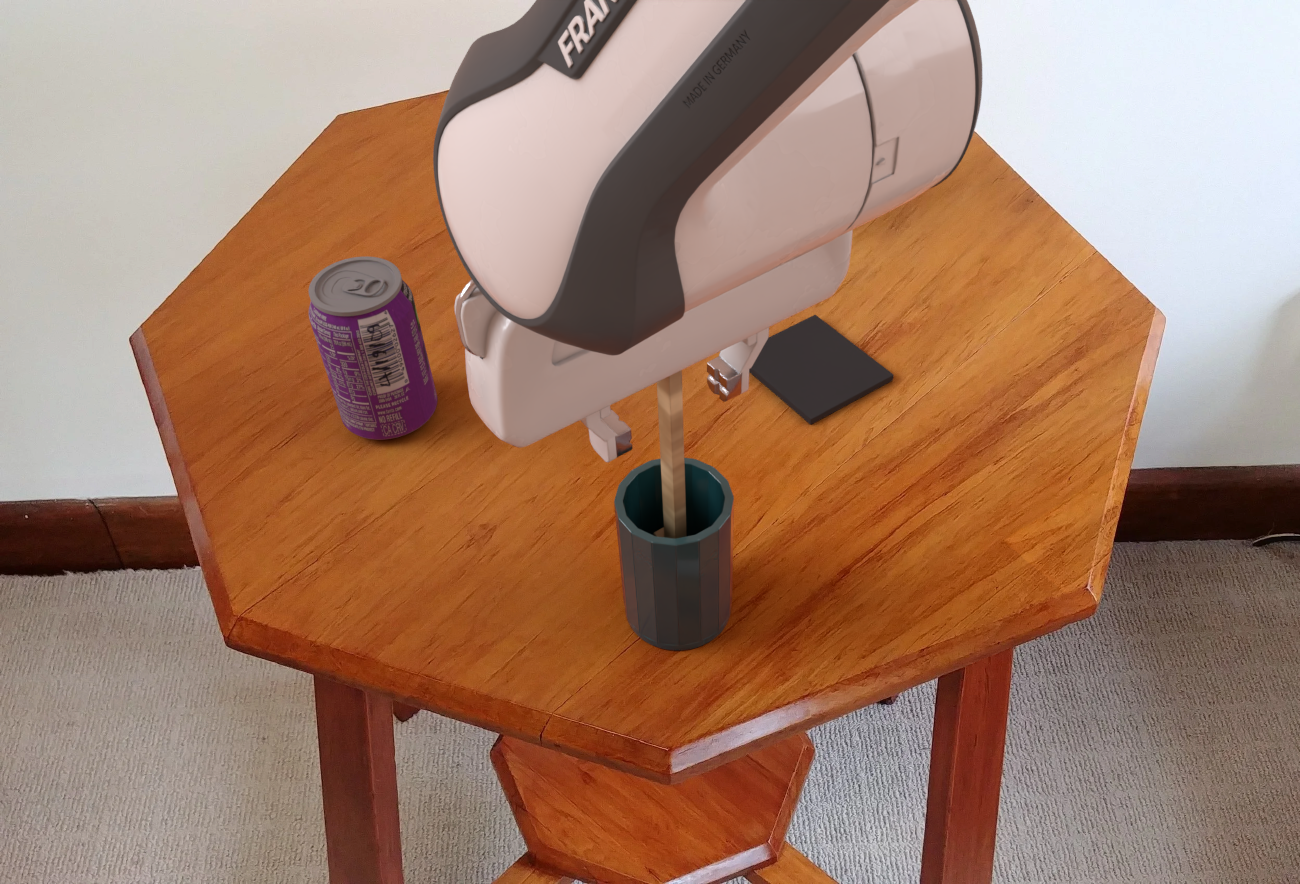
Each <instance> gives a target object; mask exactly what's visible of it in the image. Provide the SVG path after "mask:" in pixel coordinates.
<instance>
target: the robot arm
mask: <svg viewBox="0 0 1300 884" xmlns="http://www.w3.org/2000/svg"><path fill="white" fill-rule="evenodd" d="M979 36H980V35H979V32H978V28H977V24H976V20H975V18H974V15H973V12H972V8H971V6H970V4H969V1H968V0H535V1H534V2H533V4H532V5H531V6H530V8H528V10H527V11H526V12H525V13H524V15H522V16H521V17H520V18H519V19H518V20H516V21H515V22H514V23H512V24H510V25H509V26H507V27H505V28H501V29H499V30H495V31H493V32H489V33H486V34H484V35H481V36H480V37H478V38H477V39H475V40H474V41H473V42H472V43H471V45H470V46H469V48H468V50H467V51H466V54H465V55H464V57H463V59H462V61H461V63H460V65H459V67H458V68H457V71H456V72H455V74H454V77H453V79H452V81H451V84H450V87H449V90H448V92H447V94H446V96H445V99H444V102H443V106H442V109H441V113H440V117H439V118H438V123H437V127H436V131H435V132H436V133H435V136H434V141H433V153H432V155H433V157H432V163H433V166H432V167H433V177H434V184H435V190H436V195H437V201H438V205H439V208H440V211H441V215H442V218H443V221H444V224H445V227H446V230H447V232H448V233H447V234H448V235H449V238H450V240H451V242H452V245H453V248H454V250H455V252H456V253H457V256H458V258H459V260H460V261H461V264H462V266H463V267H464V269H465V270H466V273H467V274H468V276H469V277H470V280H469V281H468V282H467V283H466V284H465V285H464V287H463V288H462V290H461V291H460V292H459V294H457V295H456V297H455V301H454V306H453V307H454V315H455V316H454V317H455V319H456V325H457V330H458V334H459V339H460V342H461V344H462V346H463V348H464V354H465V355H464V356H465V374H466V383H467V389H468V397H469V400H470V403H471V406H472V408H473V409H474V411H475V414H477V416H478V417H479V418H480V419H481V421H482V422H483V423H484V425H485V426H486V427H487V428H488V429H489V431H490V432H491V433H493V435H495V436H496V437H497V438H498V440H501V441H502V442H504V443H506V444H508V445H511V446H513V447H516V448H519V449H520V448H526V447H529V446H531V445H532V444H535V443H536V442H539V441H541V440H543V439H544V438H546V437H549V436H550V435H553V434H556V433H557V432H559V431H561V430H563V429H565V428H567V427H569V426H572V425H573V424H575V423H577V422H579V421H580V422H581V423H582V424H583V425H584V426H585V427H586V428H587V429H588V436H589V442H590V444H591V446H592V449H593V450H594V451H595V452H596V454H597V455H599V457H600V458H601V459H602V461H604V462H605V463H610V462H612V461H614V460H616V459H617V458H619V457H621V456H623V455H625V454H627V453H629V452H631V451H632V450H633V449H634V448H633V443H632V442H631V441H632V439H633V435H632V428H631V427H630V426H629V425H628V424H627V423H626V422H625V421H624V420H621V419H620V416H619V415H618V414H617V413H616V412H615V411H614V410H613V409H611V406H612V405H613V404H616V403H618V402H620V401H622V400H624V399H626V398H628V397H630V396H632V395H634V394H636V393H639V392H640V391H642V390H645V389H646V388H648V387H650V386H653V385H655V384H657V382H659V381H661V380H663V379H665V378H667V377H669V376H671V375H673V374H675V373H677V372H679V371H681V370H682V371H683V370H685V369H687V368H689V367H691V366H693V365H695V364H697V363H699V362H701V361H703V360H705V359H707V358H709V357H711V356H713V355H716V354H718V356H716V357H715V358H712V359H711V360H709V361H707V362H706V372H707V373H708V375H707V377H706V383H707V386H708V389H709V390H710V391H711V392H712V394H713V395H718V397H719V399H720V400H721V401H722V402H723V403H726V402H729V401H730V400H732V399H735V398H736V397H739V396H740V395H742V394H744V393H746V392H748V391H749V389H750V386H749V385H750V372H749V369H750V368H751V367H752V366H753V364H754V362H755V360H756V359H757V357H758V355H759V353H760V352H761V350H762V348H763V346H764V345H765V343H766V341H767V339H768V338H769V337H770V327H773V326H774V325H777V324H778V323H781V322H783V321H786V320H787V319H789V318H790V317H793V316H795V315H797V314H799V313H802V312H803V311H805V310H807V309H810V308H811V307H813V306H815V305H817V304H820V303H822V302H824V301H826V300H828V299H830V298H831V297H833V296H834V295H835V293H836V292H837V291H838V289H839V288H840V287H841V284H843V281H844V280H845V279H846V277H847V276H848V273H849V269H850V264H851V257H852V256H851V254H852V246H853V233H854V230H856V229H857V228H860V227H862V226H864V225H865V224H867V223H870V222H872V221H874V220H876V219H878V218H880V217H882V216H883V215H886V214H887V213H890V212H892V211H893V210H895V209H897V208H899V207H901V206H903V205H905V204H906V203H909V202H910V201H913V200H914V199H916V198H918V197H919V196H921V195H922V194H924V193H925V192H927V191H928V190H930V189H932V188H935V187H937V186H938V185H941V184H942V183H943V182H944V181H946V180H947V179H948V178H949V177H950V176H952V174H953V173H954V172H955V170H957V168H958V166H959V165H960V163H961V162H962V160H963V159H964V156H965V155H966V153H967V151H968V148H969V146H970V143H971V141H972V140H973V139H972V138H973V136H974V133H975V129H976V126H977V123H978V119H979V114H980V110H981V102H982V94H983V93H982V92H983V58H982V49H981V43H980V38H979Z"/></svg>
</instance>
